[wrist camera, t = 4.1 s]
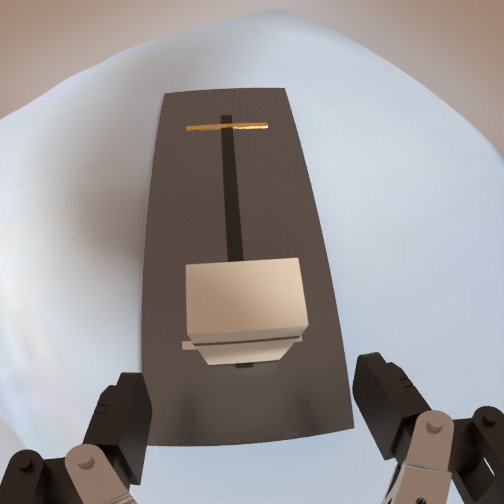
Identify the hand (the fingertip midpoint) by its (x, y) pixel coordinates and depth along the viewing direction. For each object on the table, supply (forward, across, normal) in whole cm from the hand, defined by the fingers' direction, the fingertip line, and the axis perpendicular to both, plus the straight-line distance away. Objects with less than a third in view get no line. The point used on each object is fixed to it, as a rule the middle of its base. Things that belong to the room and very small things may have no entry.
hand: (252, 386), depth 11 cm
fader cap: (+7, 0, +2) cm, 7 cm away
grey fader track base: (+15, 0, -2) cm, 15 cm away
